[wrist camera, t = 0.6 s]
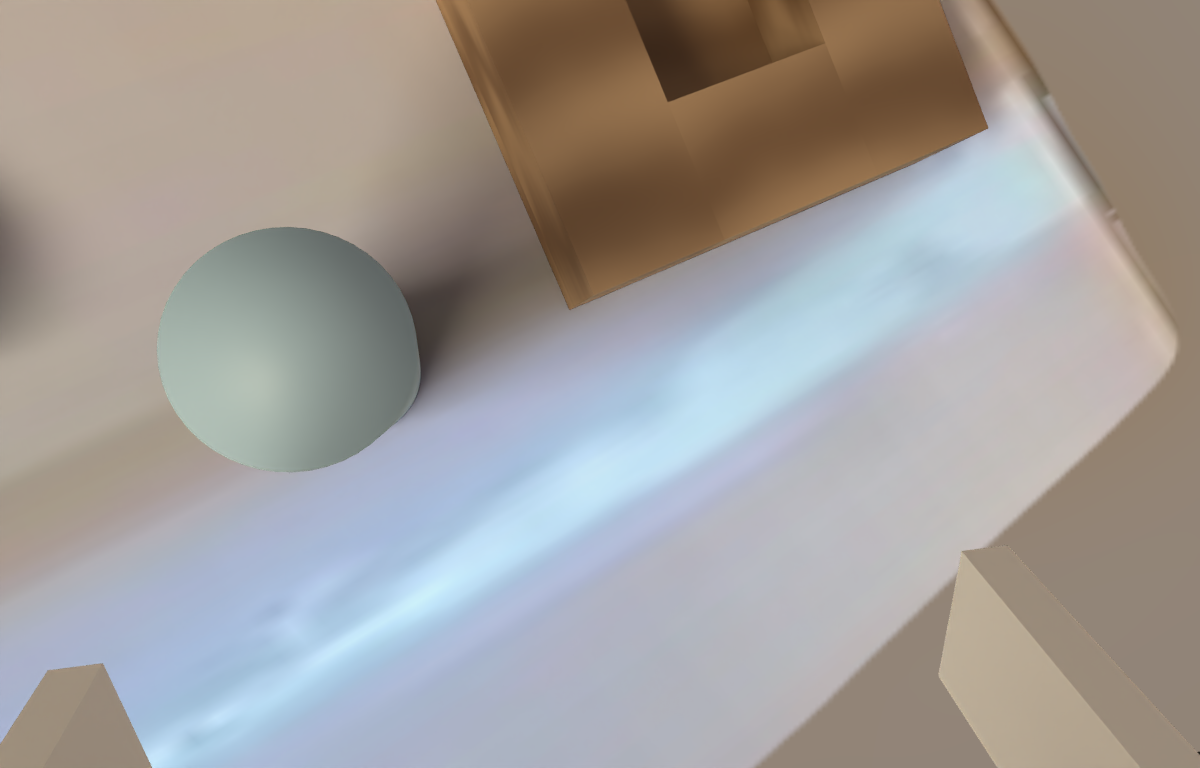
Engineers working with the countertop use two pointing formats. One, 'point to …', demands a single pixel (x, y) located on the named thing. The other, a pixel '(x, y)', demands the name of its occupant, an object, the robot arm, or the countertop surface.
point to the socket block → (701, 116)
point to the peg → (288, 350)
